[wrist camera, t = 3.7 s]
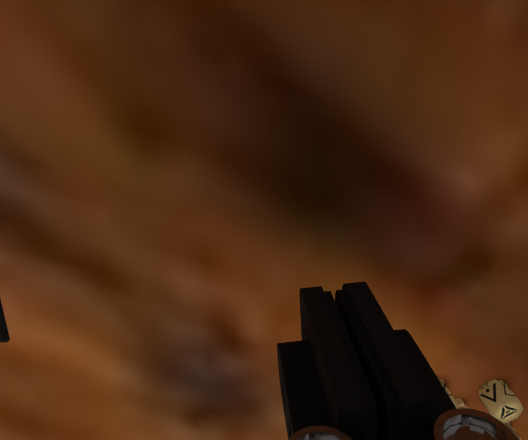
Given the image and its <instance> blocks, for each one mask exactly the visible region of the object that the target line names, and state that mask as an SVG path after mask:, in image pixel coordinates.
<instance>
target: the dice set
mask: <svg viewBox="0 0 528 440" xmlns="http://www.w3.org/2000/svg"><path fill="white" fill-rule="evenodd" d="M439 381H440V383H441V384H442V386H443V387H444V389H445V391H446V392H447V394H448V395H449V397H450V398H451V400H452V402H453V403H454V405H455V406H456V408H457V409H458V408H467V409H470V408H469V407H468V406H464V402H463V401H462V399H461V398H458V399H454V397H453V396H452V394H451V393H450V391H449V389H448V388H447V386H446V385H445V383H444V381H443V380H442V379H439ZM478 395H479V397H480V399H481V401H482V402H483V404H484V405H485V407H486V408H487V410H488V411H489V413H490V414H491V416H493V417H495V418H496V419H498V420H500V421H501V422H502V423H504V424H505V425H506V426H507V427H508V428H509V429H511V430H512V432H513V433H514V434H515V435H516V436H517V437H518V438H519V439H520V440H522V439H521V438H520V437H519V435H518V434H517V432H516V431H515V430H514V428H513V427H512V425H511V424H510V423H509V422H510V421H512V420H515V419H517V418H518V417H519V415H520V414H521V412H522V411H523V407H522V405H521V402H520V401H519V400H518V398H517V397H516V396H515V395H514V393H513V392H512V391H511V389H510V388H509V387H508V386H507V384H506V383H505V382H504V381H500V380H495V379H494V380H491V381H489V382H487V383H485V384H483V385H482V387H481V388H480V390H479V391H478Z"/></svg>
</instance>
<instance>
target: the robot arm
mask: <svg viewBox="0 0 528 440" xmlns="http://www.w3.org/2000/svg"><path fill="white" fill-rule="evenodd" d="M300 313H301V334H302V341H295V342H286V343H277V352H278V365H279V377H280V386H281V394H282V401H283V408H284V414H285V421H286V427H287V433H288V440H520V439H519V438H518V437H517V436H516V435H515V434H514V433H513V432H512V430H511V429H509V428H508V427H507V426H506V425H505V424H504V423H502V422H501V421H500V420H498V419H496V418H495V417H493V416H491V415H489V414H487V413H484V412H481V411H478V410H475V409H467V408H458V409H457V408H456V406H455V405H454V403H453V402H452V400H451V398H450V397H449V395H448V394H447V392H446V391H445V389H444V387H443V386H442V384H441V383H440V381H439V379H438V378H437V376H436V375H435V373H434V371H433V370H432V368H431V367H430V365H429V363H428V362H427V360H426V359H425V357H424V356H423V354H422V352H421V351H420V349H419V348H418V346H417V344H416V343H415V341H414V340H413V338H412V336H411V335H410V334H409V332H408V331H407V330H405V329H402V330H393V328H392V326H391V325H390V323H389V321H388V319H387V318H386V316H385V314H384V313H383V311H382V309H381V307H380V306H379V304H378V302H377V300H376V299H375V297H374V295H373V294H372V292H371V290H370V288H369V287H368V285H367V283H366V282H357V283H348V284H343V287H342V290H336V293H335V301H334V298H333V296H332V293H331V292H330V291H326V292H324V291H323V289H322V287H321V286H320V287H310V288H301V289H300Z"/></svg>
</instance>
